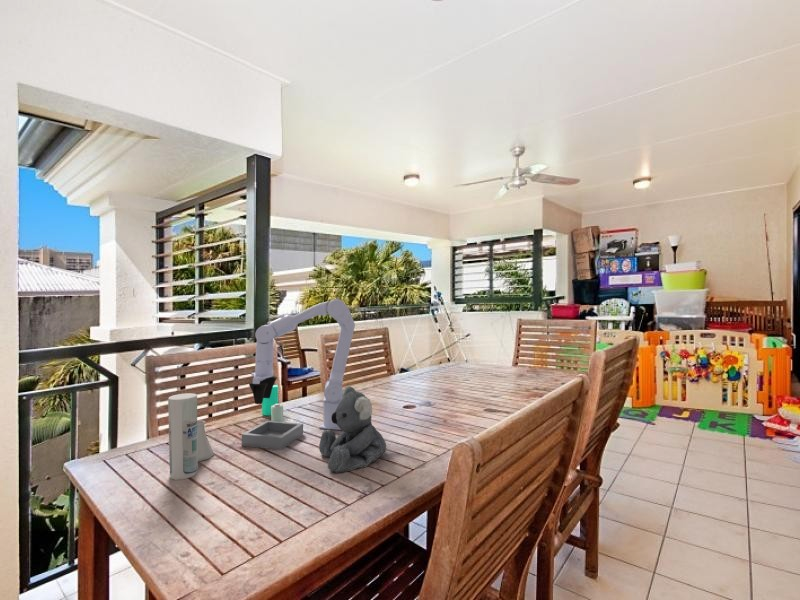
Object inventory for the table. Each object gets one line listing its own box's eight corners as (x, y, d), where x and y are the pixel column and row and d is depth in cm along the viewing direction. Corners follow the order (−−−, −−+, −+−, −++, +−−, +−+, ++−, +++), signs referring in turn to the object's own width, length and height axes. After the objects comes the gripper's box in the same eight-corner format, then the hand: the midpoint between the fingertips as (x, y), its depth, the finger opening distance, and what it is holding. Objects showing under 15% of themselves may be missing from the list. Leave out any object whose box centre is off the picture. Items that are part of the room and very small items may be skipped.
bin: (303, 434, 132) (303, 423, 132) (281, 449, 119) (281, 438, 119) (266, 431, 135) (266, 420, 135) (241, 445, 122) (241, 434, 122)
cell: (285, 424, 141) (285, 403, 141) (279, 428, 137) (279, 406, 137) (275, 423, 142) (275, 402, 142) (269, 427, 138) (268, 405, 138)
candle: (273, 415, 152) (273, 384, 152) (258, 415, 153) (258, 383, 153) (281, 411, 158) (280, 380, 157) (267, 410, 159) (266, 380, 159)
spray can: (178, 468, 106) (177, 393, 106) (203, 468, 106) (202, 393, 106) (163, 479, 100) (162, 399, 99) (189, 480, 100) (188, 399, 99)
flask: (219, 454, 116) (218, 419, 116) (199, 464, 109) (198, 427, 109) (199, 451, 118) (199, 417, 118) (178, 460, 111) (178, 424, 111)
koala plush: (316, 452, 117) (316, 385, 117) (375, 442, 124) (374, 379, 124) (330, 477, 101) (330, 399, 101) (396, 464, 108) (396, 392, 108)
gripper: (260, 356, 143) (258, 394, 143) (244, 363, 129) (242, 406, 129) (280, 357, 143) (278, 395, 143) (266, 364, 129) (264, 407, 129)
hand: (262, 400), depth 136 cm, fingers open, 7 cm apart
